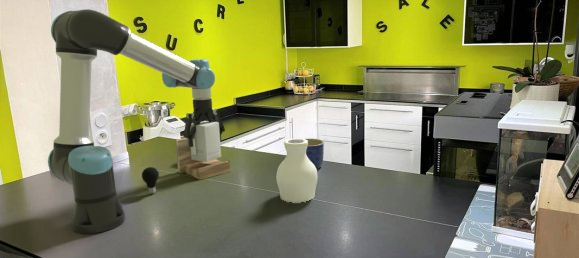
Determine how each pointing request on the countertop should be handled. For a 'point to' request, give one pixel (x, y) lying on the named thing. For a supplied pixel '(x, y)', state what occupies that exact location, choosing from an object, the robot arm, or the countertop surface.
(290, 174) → the vase
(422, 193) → the countertop surface
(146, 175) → the light bulb
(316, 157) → the planter
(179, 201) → the countertop surface
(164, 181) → the countertop surface
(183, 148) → the cleat board
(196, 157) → the supplement box
